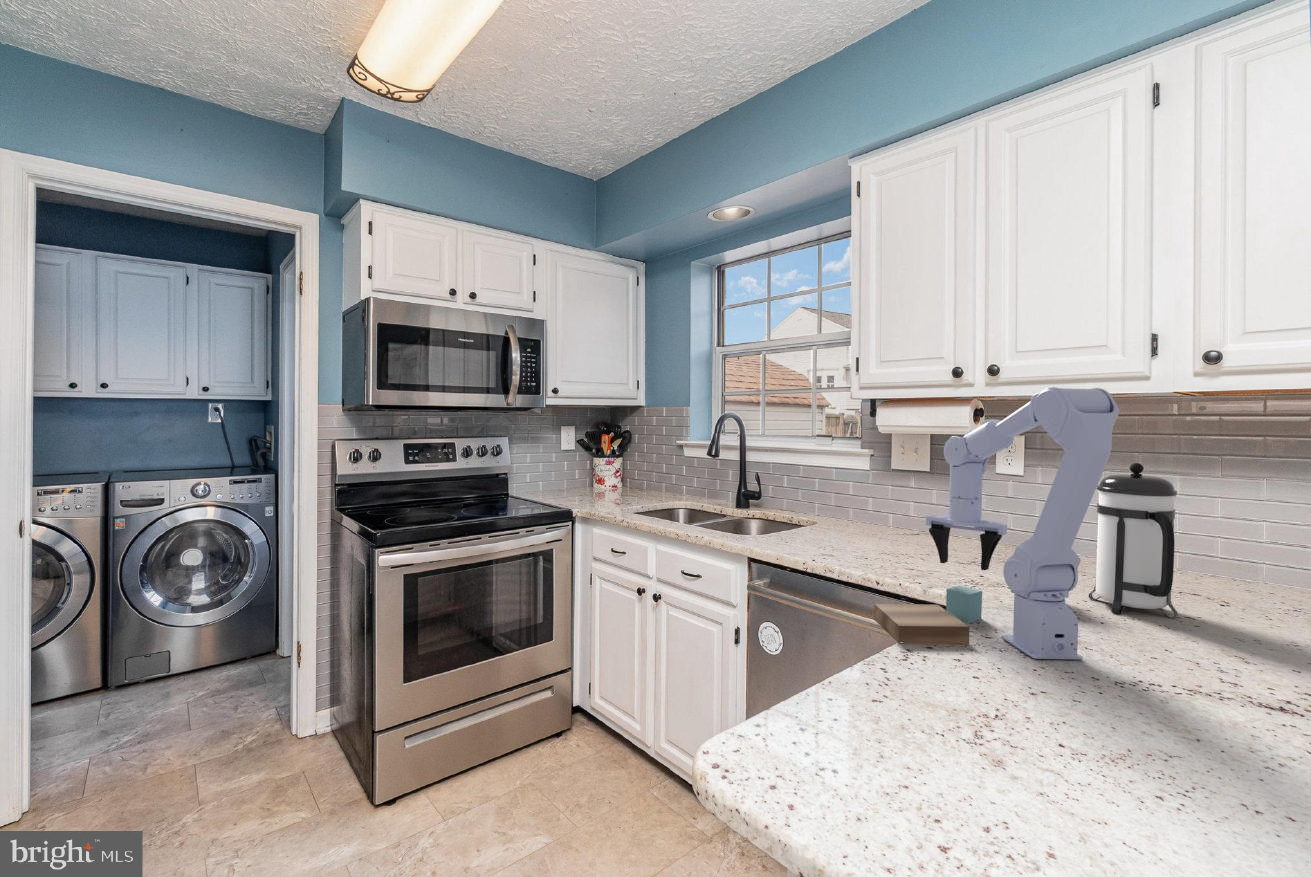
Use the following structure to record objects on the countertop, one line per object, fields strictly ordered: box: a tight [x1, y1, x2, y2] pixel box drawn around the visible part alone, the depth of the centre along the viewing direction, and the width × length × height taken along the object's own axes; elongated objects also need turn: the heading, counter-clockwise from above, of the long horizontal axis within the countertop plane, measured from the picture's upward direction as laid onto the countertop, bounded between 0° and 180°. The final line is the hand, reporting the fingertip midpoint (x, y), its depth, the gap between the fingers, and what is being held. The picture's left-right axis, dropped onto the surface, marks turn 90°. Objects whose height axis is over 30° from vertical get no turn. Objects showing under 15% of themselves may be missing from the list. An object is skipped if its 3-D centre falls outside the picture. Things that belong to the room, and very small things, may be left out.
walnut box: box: [873, 603, 970, 645], centre depth 109 cm, size 12×12×4 cm
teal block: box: [945, 584, 983, 624], centre depth 117 cm, size 4×4×6 cm
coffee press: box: [1088, 462, 1179, 619], centre depth 122 cm, size 17×16×30 cm
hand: (963, 565), depth 119 cm, fingers open, 7 cm apart
